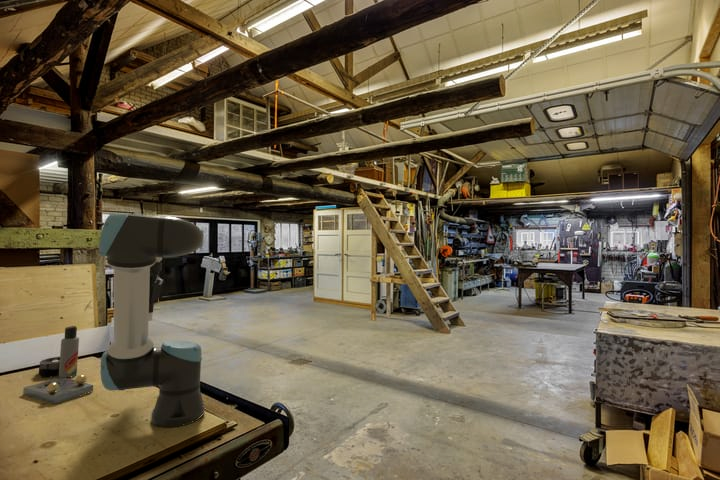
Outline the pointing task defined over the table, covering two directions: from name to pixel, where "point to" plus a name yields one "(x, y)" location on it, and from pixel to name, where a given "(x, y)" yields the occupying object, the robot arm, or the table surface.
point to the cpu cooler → (49, 367)
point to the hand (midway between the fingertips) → (147, 320)
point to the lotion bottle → (69, 353)
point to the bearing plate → (64, 392)
